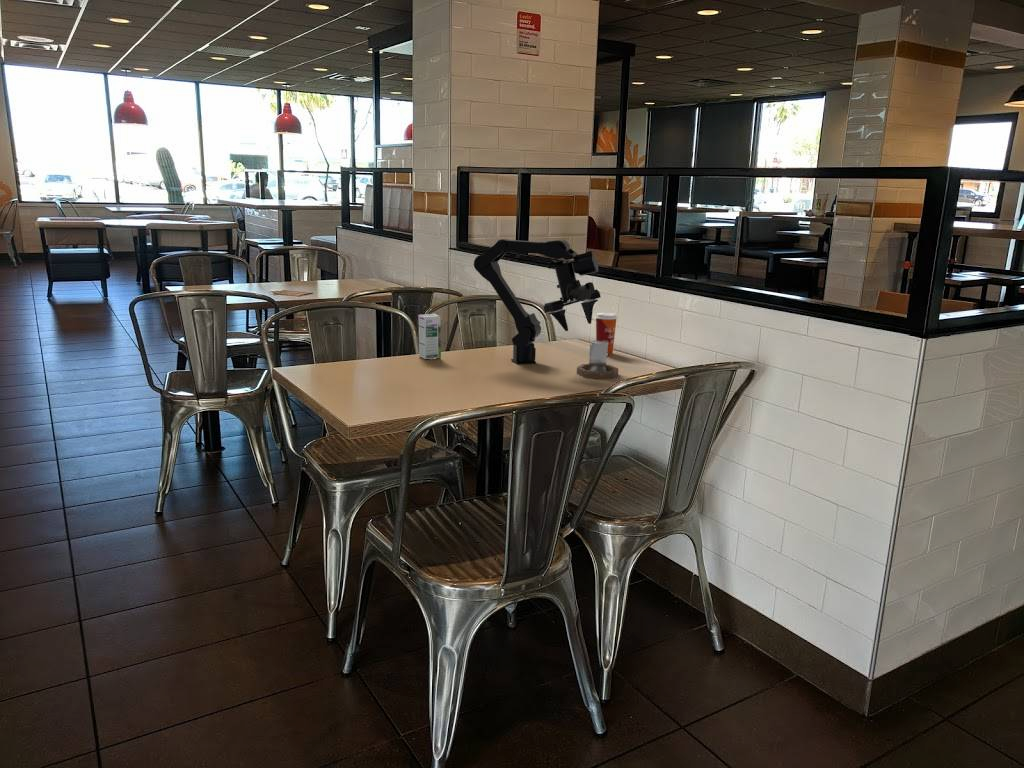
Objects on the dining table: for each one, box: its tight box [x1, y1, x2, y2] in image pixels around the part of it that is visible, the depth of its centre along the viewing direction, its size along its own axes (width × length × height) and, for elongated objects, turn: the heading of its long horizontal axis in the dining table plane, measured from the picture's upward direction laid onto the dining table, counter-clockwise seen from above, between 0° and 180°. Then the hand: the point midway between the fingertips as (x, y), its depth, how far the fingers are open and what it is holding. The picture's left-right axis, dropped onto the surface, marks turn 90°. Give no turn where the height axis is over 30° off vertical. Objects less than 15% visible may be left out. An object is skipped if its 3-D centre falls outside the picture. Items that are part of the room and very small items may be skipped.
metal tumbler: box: [588, 340, 608, 372], centre depth 236 cm, size 6×6×10 cm
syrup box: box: [418, 313, 442, 360], centre depth 253 cm, size 6×6×14 cm
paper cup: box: [594, 312, 618, 355], centre depth 267 cm, size 8×8×14 cm
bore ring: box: [576, 363, 619, 380], centre depth 237 cm, size 12×12×2 cm
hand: (578, 327), depth 243 cm, fingers open, 9 cm apart
